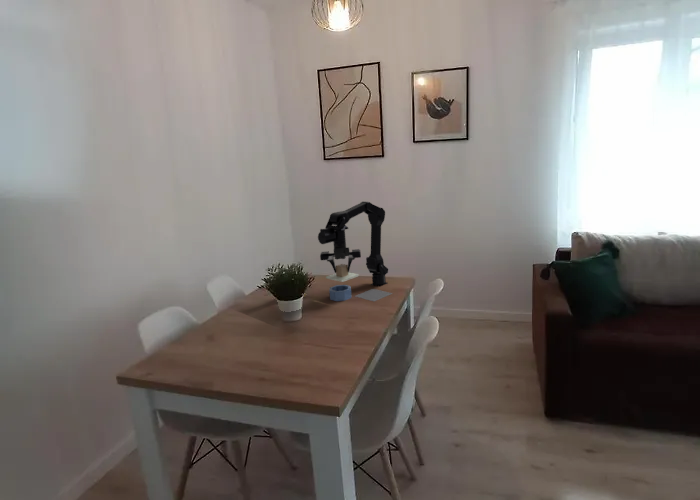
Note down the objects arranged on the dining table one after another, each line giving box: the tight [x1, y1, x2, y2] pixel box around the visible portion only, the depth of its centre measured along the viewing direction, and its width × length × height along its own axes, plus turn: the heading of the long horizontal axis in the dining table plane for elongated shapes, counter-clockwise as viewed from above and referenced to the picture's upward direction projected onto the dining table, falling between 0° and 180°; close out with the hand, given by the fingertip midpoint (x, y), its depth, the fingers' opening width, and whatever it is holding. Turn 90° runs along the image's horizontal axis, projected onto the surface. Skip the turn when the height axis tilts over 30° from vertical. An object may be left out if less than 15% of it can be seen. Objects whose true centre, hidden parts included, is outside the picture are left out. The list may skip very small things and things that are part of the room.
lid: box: [325, 263, 360, 283], centre depth 215 cm, size 11×11×6 cm
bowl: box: [328, 284, 352, 302], centre depth 218 cm, size 10×10×5 cm
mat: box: [354, 288, 393, 302], centre depth 218 cm, size 13×13×1 cm
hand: (342, 272), depth 215 cm, fingers closed on lid, 6 cm apart
